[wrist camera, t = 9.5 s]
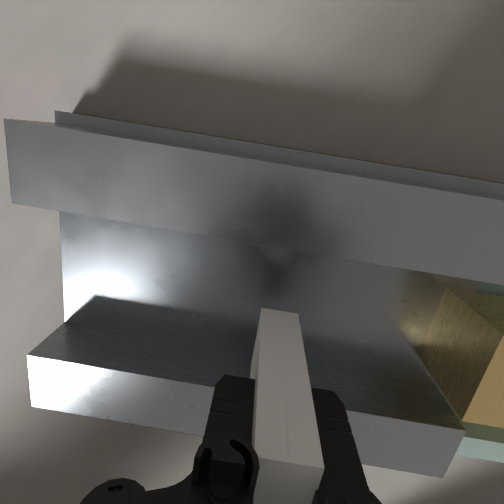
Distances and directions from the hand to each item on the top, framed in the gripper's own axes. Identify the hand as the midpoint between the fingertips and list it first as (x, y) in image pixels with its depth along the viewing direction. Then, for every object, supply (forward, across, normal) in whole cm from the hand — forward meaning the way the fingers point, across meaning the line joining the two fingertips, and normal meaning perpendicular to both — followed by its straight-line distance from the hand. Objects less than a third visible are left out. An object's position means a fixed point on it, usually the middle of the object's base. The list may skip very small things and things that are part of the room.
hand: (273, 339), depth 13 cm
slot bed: (+4, +1, 0) cm, 4 cm away
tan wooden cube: (+3, -10, 0) cm, 10 cm away
